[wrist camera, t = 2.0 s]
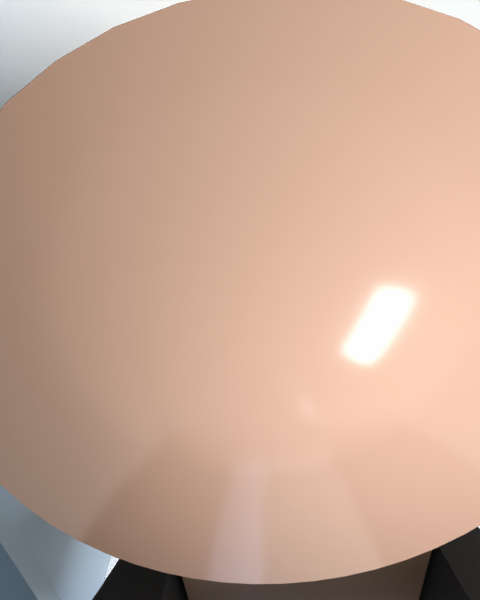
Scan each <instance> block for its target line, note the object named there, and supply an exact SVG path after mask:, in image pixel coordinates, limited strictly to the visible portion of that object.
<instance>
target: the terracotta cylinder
mask: <svg viewBox="0 0 480 600" xmlns="http://www.w3.org/2000/svg"><path fill="white" fill-rule="evenodd" d="M0 484H1V485H2V486H3V487H4V488H5V489H6V490H7V491H8V492H9V493H11V494H12V495H13V496H14V497H15V498H16V499H17V500H18V501H20V502H21V503H22V504H23V505H24V506H26V507H27V508H28V509H30V510H31V511H32V512H34V513H35V514H37V515H38V516H39V517H41V518H42V519H44V520H45V521H46V522H48V523H49V524H51V525H52V526H54V527H56V528H57V529H59V530H61V531H63V532H64V533H66V534H68V535H69V536H71V537H73V538H74V539H76V540H78V541H80V542H82V543H84V544H87V545H89V546H91V547H93V548H95V549H97V550H99V551H101V552H104V553H106V554H108V555H111V556H114V557H116V558H119V559H122V560H125V561H127V562H130V563H133V564H136V565H139V566H143V567H146V568H150V569H153V570H157V571H160V572H164V573H169V574H173V575H178V576H183V577H188V578H193V579H201V580H209V581H216V582H225V583H243V584H286V583H298V582H310V581H319V580H325V579H331V578H338V577H344V576H349V575H353V574H358V573H362V572H366V571H371V570H375V569H378V568H382V567H385V566H388V565H391V564H395V563H398V562H401V561H404V560H407V559H410V558H412V557H415V556H417V555H420V554H422V553H425V552H428V551H430V550H433V549H435V548H437V547H439V546H441V545H444V544H446V543H448V542H450V541H452V540H454V539H456V538H458V537H460V536H462V535H464V534H466V533H468V532H469V531H471V530H473V529H474V528H476V527H478V526H479V525H480V30H479V29H477V28H475V27H473V26H471V25H469V24H468V23H466V22H464V21H462V20H460V19H458V18H455V17H452V16H449V15H446V14H443V13H440V12H437V11H434V10H431V9H428V8H425V7H422V6H419V5H416V4H413V3H409V2H406V1H403V0H191V1H186V2H181V3H177V4H175V5H172V6H169V7H167V8H164V9H161V10H159V11H156V12H153V13H151V14H148V15H145V16H143V17H140V18H137V19H135V20H132V21H129V22H127V23H124V24H121V25H119V26H116V27H113V28H112V29H110V30H108V31H106V32H105V33H103V34H101V35H100V36H98V37H96V38H94V39H93V40H91V41H89V42H87V43H86V44H84V45H82V46H81V47H79V48H77V49H75V50H74V51H72V52H70V53H69V54H67V55H65V56H63V57H62V58H60V59H58V60H57V61H55V62H54V63H53V64H51V65H50V66H49V67H48V68H47V69H45V70H44V71H43V72H42V73H41V74H40V75H38V76H37V77H36V78H35V79H34V80H32V81H31V82H30V83H29V84H28V85H26V86H25V87H24V88H23V89H22V90H20V91H19V92H18V93H17V94H16V95H14V96H13V97H12V98H11V99H10V100H9V101H7V103H6V104H5V105H4V106H3V107H2V109H1V110H0Z"/></svg>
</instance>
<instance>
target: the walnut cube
mask: <svg viewBox="0 0 480 600" xmlns="http://www.w3.org/2000/svg"><path fill="white" fill-rule="evenodd" d="M431 552H432V550H430V551H428V552H425V553H422V554H420V555H417V556H415V557H412V558H410V559H407V560H404V561H401V562H398V563H395V564H391V565H388V566H385V567H382V568H378V569H375V570H371V571H366V572H362V573H358V574H353V575H349V576H344V577H338V578H331V579H325V580H319V581H310V582H298V583H286V584H243V583H225V582H216V581H209V580H201V579H193V578H188V577H183V576H182V578H183V582H184V585H185V589H186V592H187V596H188V599H189V600H419V597H420V593H421V589H422V586H423V582H424V578H425V574H426V571H427V567H428V563H429V559H430V556H431Z"/></svg>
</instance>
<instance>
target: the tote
mask: <svg viewBox="0 0 480 600" xmlns="http://www.w3.org/2000/svg"><path fill="white" fill-rule="evenodd" d="M110 558H111V555H108V554H106V553H104V552H101V551H99V550H97V549H95V548H93V547H91V546H89V545H87V544H84V543H82V542H80V541H78V540H76V539H74V538H73V537H71V536H69V535H68V534H66V533H64V532H63V531H61V530H59V529H57V528H56V527H54V526H52V525H51V524H49V523H48V522H46V521H45V520H44V519H42V518H41V517H39V516H38V515H37V514H35V513H34V512H32V511H31V510H30V509H28V508H27V507H26V506H24V505H23V504H22V503H21V502H20V501H18V500H17V499H16V498H15V497H14V496H13V495H12V494H11V493H9V492H8V491H7V490H6V489H5V488H4V487H3V486H2V485H1V484H0V600H92V599H93V597H94V596H95V595H96V593H97V592H98V590H99V589H100V587H101V586H102V584H103V582H104V579H105V575H106V572H107V568H108V565H109V561H110Z"/></svg>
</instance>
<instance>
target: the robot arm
mask: <svg viewBox="0 0 480 600" xmlns="http://www.w3.org/2000/svg"><path fill="white" fill-rule="evenodd" d="M92 600H189V599H188V596H187V592H186V589H185V585H184V582H183V578H182V576H178V575H173V574H169V573H164V572H160V571H157V570H153V569H150V568H146V567H143V566H139V565H136V564H133V563H130V562H127V561H125V560H122V559H119V560H118V562H117V563H116V565H115V566H114V568H113V569H112V571H111V573H110V574H109V576H108V577H107V578H106V580H105V581H104V583H103V584H102V586H101V587H100V589H99V590H98V592H97V593H96V595H95V596H94V597H93V599H92ZM419 600H480V529H479V528H478V527H476V528H474V529H473V530H471V531H469V532H468V533H466V534H464V535H462V536H460V537H458V538H456V539H454V540H452V541H450V542H448V543H446V544H444V545H441V546H439V547H437V548H435V549H433V550H432V552H431V556H430V559H429V563H428V567H427V571H426V574H425V578H424V582H423V586H422V589H421V593H420V597H419Z"/></svg>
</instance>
